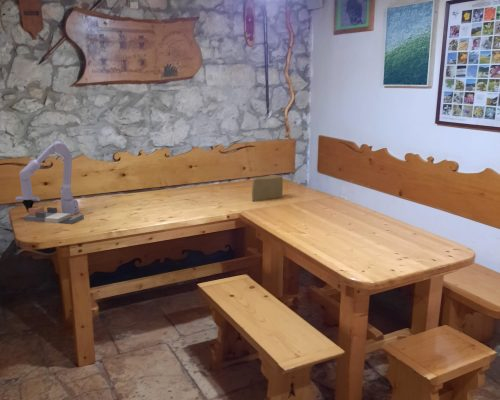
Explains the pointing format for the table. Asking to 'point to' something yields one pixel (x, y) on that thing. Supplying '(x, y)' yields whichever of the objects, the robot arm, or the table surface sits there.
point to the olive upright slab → (267, 188)
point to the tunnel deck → (54, 217)
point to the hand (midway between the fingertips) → (29, 212)
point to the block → (35, 210)
